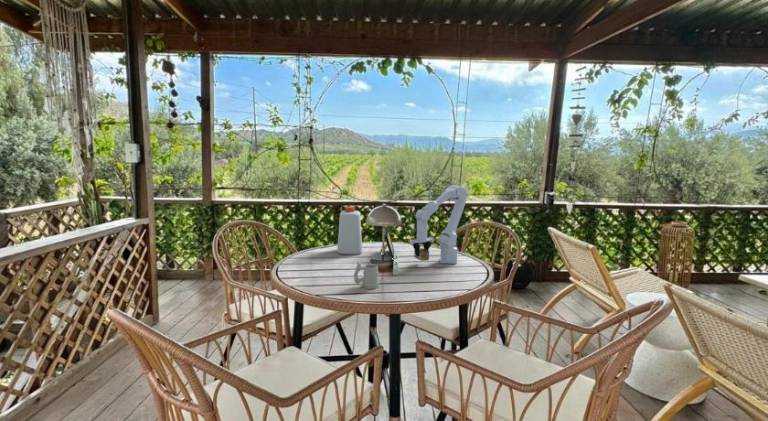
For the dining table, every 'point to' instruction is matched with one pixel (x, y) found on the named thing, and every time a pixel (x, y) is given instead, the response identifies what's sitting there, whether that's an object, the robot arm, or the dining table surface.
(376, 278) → the mug
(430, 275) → the dining table surface
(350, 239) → the plastic bottle
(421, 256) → the frame block
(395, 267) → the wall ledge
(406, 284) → the dining table surface
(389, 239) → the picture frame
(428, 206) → the robot arm
